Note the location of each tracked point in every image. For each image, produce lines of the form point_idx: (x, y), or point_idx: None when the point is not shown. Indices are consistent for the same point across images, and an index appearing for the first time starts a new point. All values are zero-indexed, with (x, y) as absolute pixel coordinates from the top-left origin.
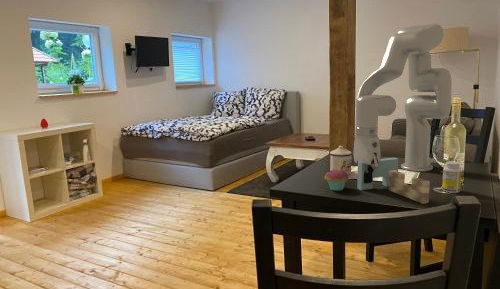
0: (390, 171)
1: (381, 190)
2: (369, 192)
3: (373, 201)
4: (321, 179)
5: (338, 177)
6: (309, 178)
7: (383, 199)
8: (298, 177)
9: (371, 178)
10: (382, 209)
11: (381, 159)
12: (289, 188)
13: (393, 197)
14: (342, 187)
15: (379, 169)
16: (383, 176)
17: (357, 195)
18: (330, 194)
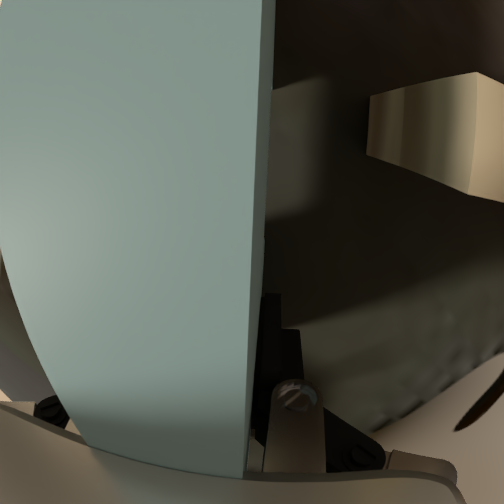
0: (489, 198)
1: (343, 214)
2: (328, 320)
3: (436, 378)
4: (19, 352)
5: None
6: (11, 373)
7: (458, 326)
8: (5, 387)
9: (299, 342)
10: (493, 386)
11: (37, 110)
12: None
13: (479, 257)
14: None
15: (261, 233)
16: (269, 126)
17: (327, 396)
18: None
